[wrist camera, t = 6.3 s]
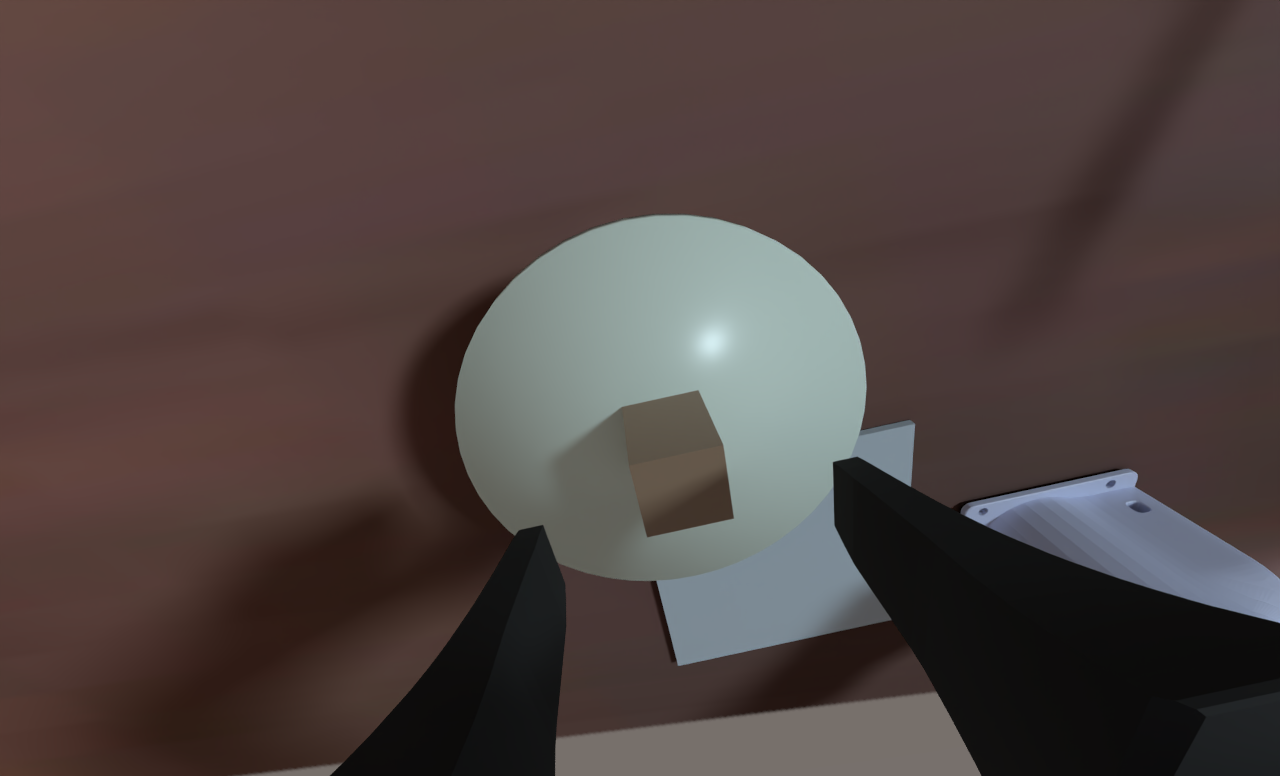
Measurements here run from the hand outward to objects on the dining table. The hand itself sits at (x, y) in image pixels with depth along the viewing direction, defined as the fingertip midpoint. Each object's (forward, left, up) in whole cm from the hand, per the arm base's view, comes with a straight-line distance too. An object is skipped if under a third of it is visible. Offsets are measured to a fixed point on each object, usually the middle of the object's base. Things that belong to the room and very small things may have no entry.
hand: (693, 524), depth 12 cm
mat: (-5, +13, -10) cm, 17 cm away
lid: (0, 0, -6) cm, 6 cm away
